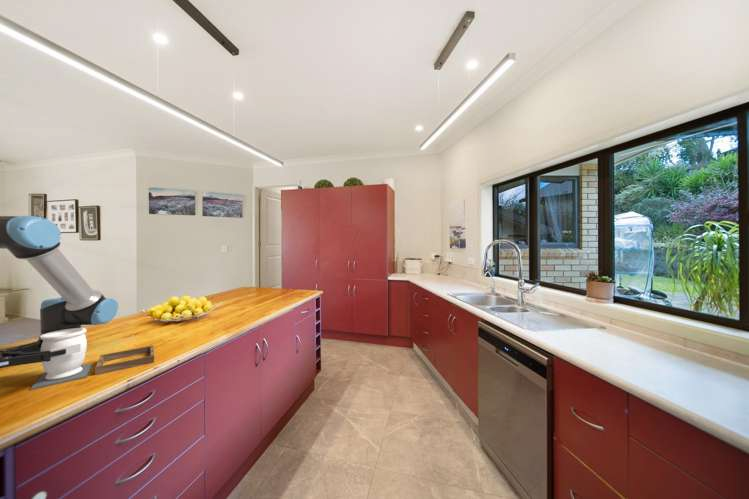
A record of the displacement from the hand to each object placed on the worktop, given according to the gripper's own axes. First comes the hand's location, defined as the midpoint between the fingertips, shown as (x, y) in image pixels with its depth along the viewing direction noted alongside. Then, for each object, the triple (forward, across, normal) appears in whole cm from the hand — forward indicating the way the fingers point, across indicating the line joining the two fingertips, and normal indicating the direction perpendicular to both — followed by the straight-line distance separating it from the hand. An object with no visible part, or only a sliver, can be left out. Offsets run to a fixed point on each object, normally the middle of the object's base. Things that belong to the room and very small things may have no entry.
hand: (76, 343), depth 94 cm
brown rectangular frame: (+13, +3, -11) cm, 17 cm away
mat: (-3, 0, -11) cm, 11 cm away
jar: (-3, 0, -10) cm, 11 cm away
